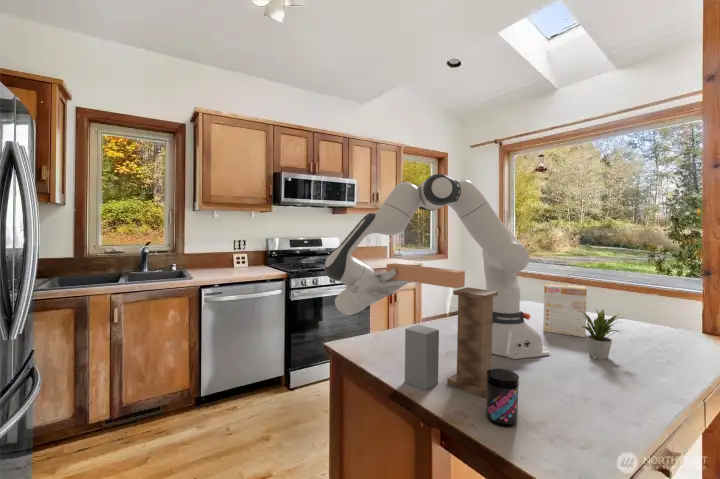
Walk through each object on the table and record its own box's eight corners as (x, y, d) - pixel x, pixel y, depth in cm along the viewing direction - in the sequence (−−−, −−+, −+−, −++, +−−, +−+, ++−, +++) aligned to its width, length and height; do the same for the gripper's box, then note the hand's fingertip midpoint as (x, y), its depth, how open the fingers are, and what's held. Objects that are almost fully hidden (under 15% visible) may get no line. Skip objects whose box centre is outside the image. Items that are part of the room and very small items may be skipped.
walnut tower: (447, 383, 98) (448, 290, 97) (463, 374, 104) (465, 286, 103) (485, 397, 90) (487, 296, 89) (500, 386, 96) (502, 292, 95)
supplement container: (479, 418, 80) (480, 373, 80) (494, 408, 84) (495, 366, 84) (509, 432, 75) (510, 384, 74) (523, 420, 79) (524, 375, 79)
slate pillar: (404, 381, 99) (405, 328, 98) (417, 375, 103) (418, 324, 102) (425, 390, 94) (426, 334, 93) (438, 383, 98) (438, 329, 97)
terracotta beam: (386, 277, 104) (386, 264, 104) (395, 276, 107) (395, 263, 107) (456, 288, 88) (456, 272, 87) (464, 286, 90) (464, 271, 90)
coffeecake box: (585, 333, 145) (586, 286, 144) (585, 337, 139) (587, 288, 138) (544, 327, 153) (545, 282, 153) (542, 331, 147) (544, 285, 147)
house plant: (637, 368, 110) (640, 316, 109) (588, 364, 112) (590, 313, 112) (614, 352, 124) (616, 306, 123) (571, 349, 126) (572, 303, 126)
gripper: (344, 282, 105) (373, 262, 96) (388, 276, 119) (418, 258, 110) (351, 302, 103) (382, 284, 94) (395, 293, 117) (426, 277, 108)
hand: (402, 270), depth 102 cm, fingers closed on terracotta beam, 4 cm apart
